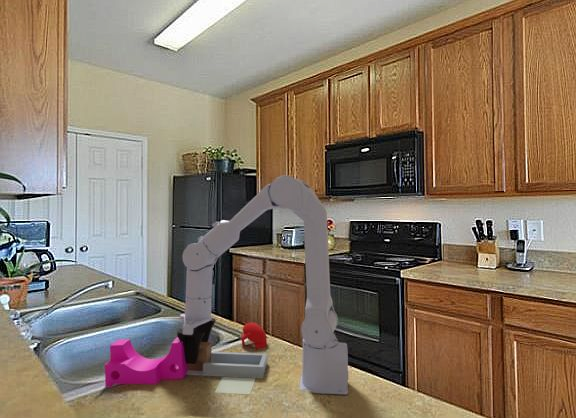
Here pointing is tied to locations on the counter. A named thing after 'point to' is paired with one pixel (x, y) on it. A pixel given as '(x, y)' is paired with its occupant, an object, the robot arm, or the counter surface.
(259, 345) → the red rounded piece
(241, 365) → the trough deck
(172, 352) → the magenta cradle bracket
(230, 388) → the sage coaster
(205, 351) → the walnut block
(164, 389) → the counter surface
